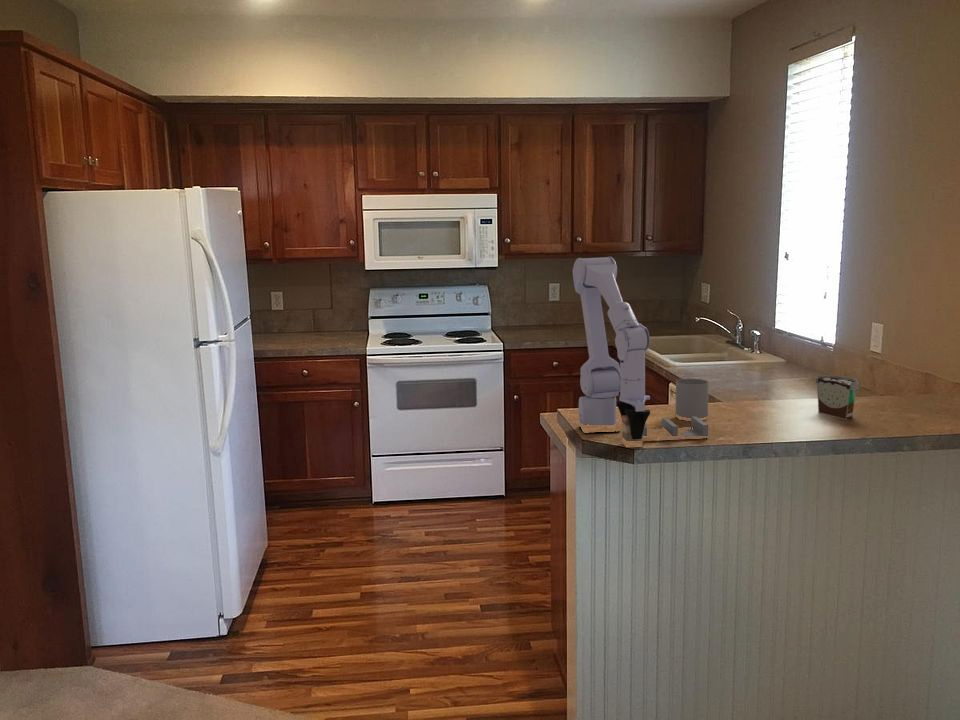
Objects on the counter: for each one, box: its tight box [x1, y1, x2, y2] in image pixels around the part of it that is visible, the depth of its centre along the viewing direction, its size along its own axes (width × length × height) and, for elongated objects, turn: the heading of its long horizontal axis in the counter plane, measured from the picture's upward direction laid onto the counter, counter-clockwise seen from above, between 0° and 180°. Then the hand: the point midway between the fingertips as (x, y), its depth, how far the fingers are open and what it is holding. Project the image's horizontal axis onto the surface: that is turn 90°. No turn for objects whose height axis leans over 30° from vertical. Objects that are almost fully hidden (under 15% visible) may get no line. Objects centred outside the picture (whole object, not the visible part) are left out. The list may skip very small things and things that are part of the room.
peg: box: [621, 415, 643, 441], centre depth 183 cm, size 4×4×7 cm
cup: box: [675, 378, 710, 418], centre depth 208 cm, size 8×8×10 cm
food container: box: [814, 374, 860, 421], centre depth 205 cm, size 12×6×10 cm, turn 22°
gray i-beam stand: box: [643, 416, 709, 437], centre depth 191 cm, size 16×9×4 cm, turn 93°
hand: (632, 434), depth 183 cm, fingers open, 7 cm apart
